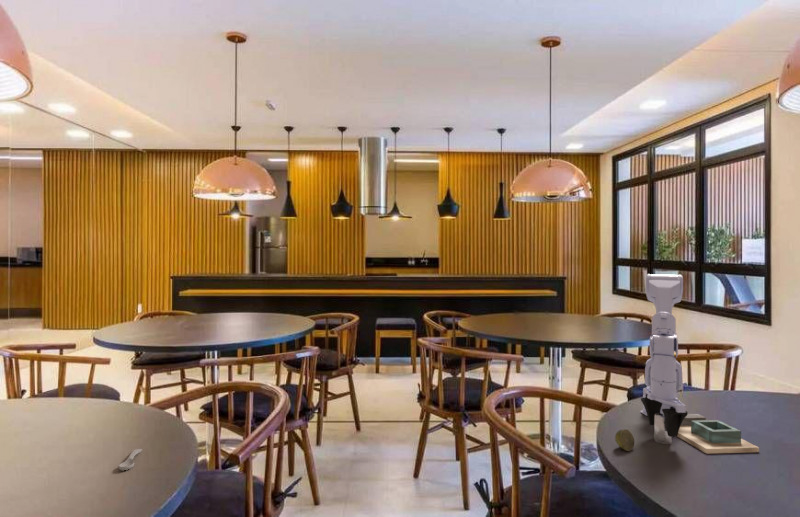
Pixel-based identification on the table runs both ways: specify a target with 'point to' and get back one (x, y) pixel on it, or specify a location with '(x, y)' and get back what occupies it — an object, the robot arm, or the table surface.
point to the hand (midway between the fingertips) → (662, 430)
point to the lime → (625, 439)
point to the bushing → (661, 429)
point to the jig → (713, 436)
